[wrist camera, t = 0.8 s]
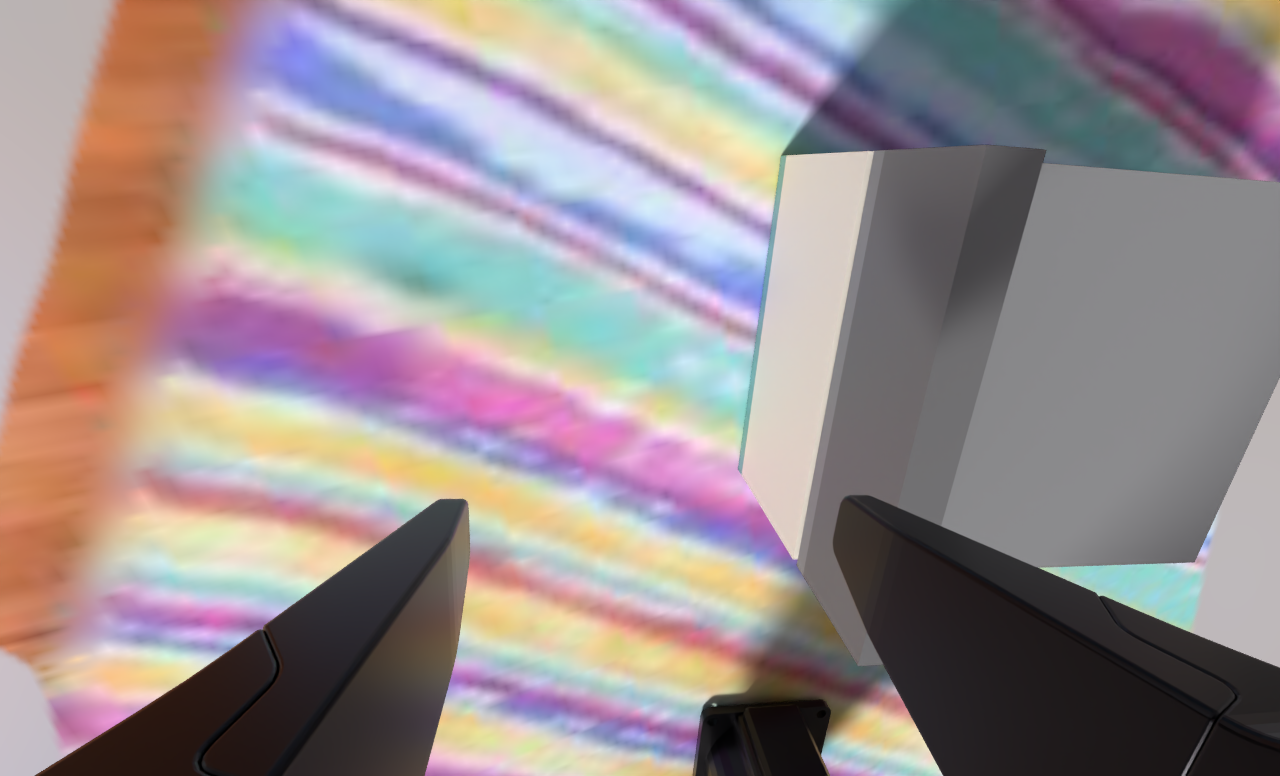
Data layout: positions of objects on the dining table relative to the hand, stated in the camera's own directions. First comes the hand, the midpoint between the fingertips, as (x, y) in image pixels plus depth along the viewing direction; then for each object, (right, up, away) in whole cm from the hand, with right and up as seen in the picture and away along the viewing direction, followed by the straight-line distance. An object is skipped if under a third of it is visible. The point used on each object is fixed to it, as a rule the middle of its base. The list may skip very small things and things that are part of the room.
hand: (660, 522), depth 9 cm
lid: (+12, +2, +8) cm, 15 cm away
